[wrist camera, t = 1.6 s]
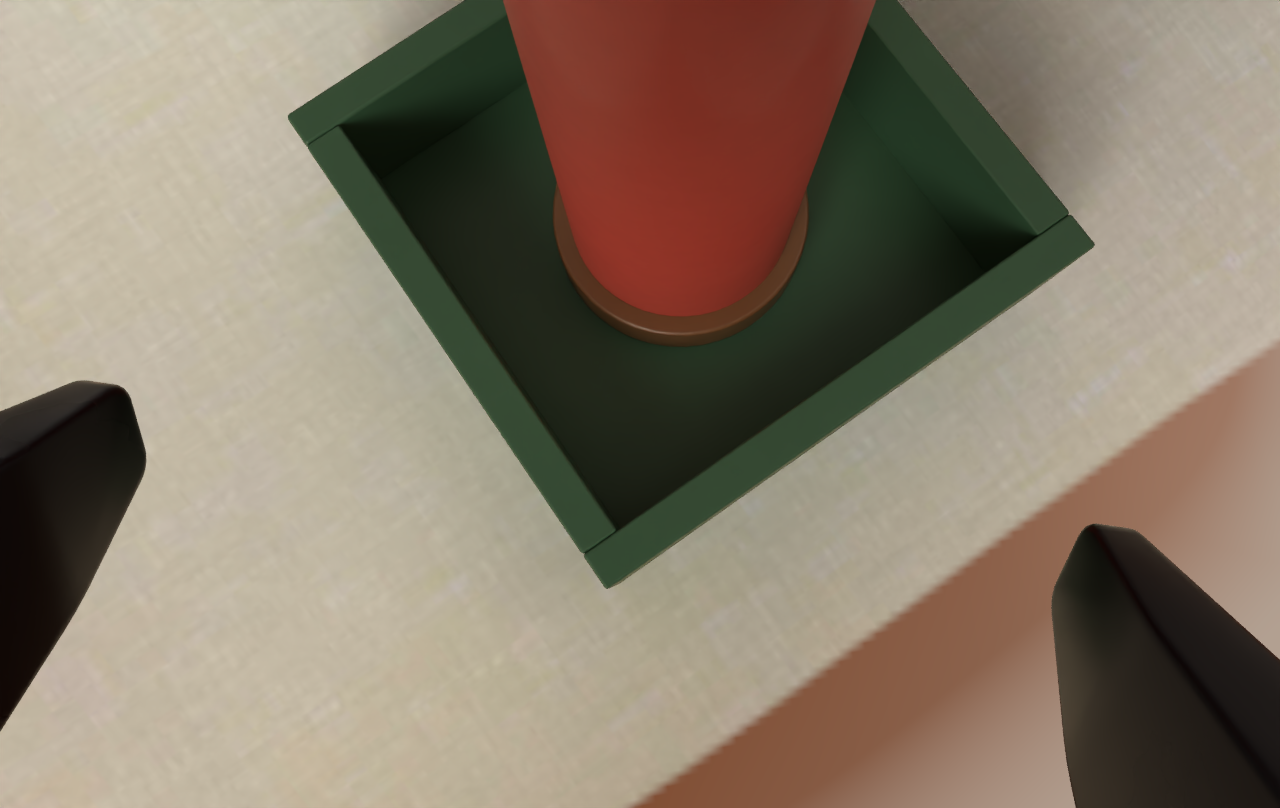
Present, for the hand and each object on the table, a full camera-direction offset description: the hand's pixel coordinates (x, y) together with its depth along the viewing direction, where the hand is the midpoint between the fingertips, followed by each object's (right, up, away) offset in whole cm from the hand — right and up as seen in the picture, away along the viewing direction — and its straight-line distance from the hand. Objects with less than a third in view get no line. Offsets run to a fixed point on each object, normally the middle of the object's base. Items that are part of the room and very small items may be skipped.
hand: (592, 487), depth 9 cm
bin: (+1, +5, +14) cm, 15 cm away
